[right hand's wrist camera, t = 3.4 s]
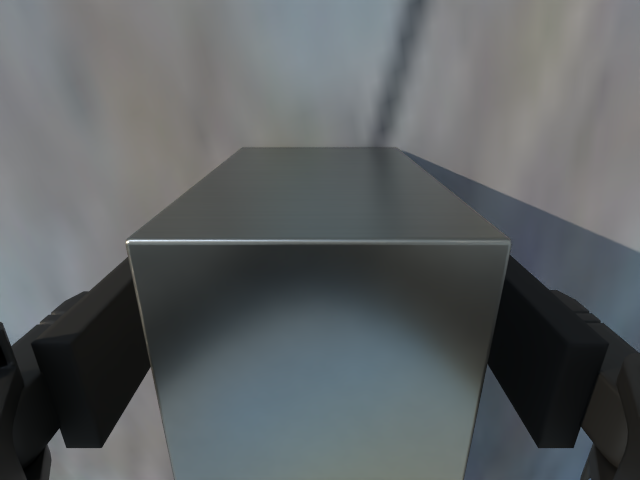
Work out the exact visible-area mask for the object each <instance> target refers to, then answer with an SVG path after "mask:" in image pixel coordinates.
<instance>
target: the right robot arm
mask: <svg viewBox="0 0 640 480" xmlns="http://www.w3.org/2000/svg"><path fill="white" fill-rule="evenodd" d="M487 364H488V365H489V367H490V369H491V370H492V372H493V374H494V375H495V377H496V379H497V380H498V382H499V384H500V385H501V387H502V389H503V390H504V392H505V393H506V395H507V397H508V398H509V400H510V402H511V403H512V405H513V407H514V408H515V410H516V412H517V413H518V415H519V417H520V418H521V420H522V422H523V423H524V425H525V427H526V428H527V430H528V432H529V433H530V435H531V437H532V438H533V440H534V442H535V443H536V445H537V447H538V448H574V445H575V442H576V439H577V436H578V433H579V430H580V428H581V427H582V429H583V430H584V431H585V432H586V434H587V435H588V436H589V438H590V439H591V440H592V442H593V445H592V448H591V450H590V453H589V456H588V459H587V461H586V464H585V467H584V469H583V472H582V475H581V478H580V480H588V479H589V478H591V480H640V353H638V352H637V351H636V350H635V349H634V348H633V347H631V346H630V345H629V344H628V343H627V342H625V341H624V340H623V339H622V338H621V337H619V336H618V335H617V334H616V333H615V332H613V331H612V330H611V329H610V328H609V327H607V326H606V325H605V324H604V323H601V322H600V320H599V319H598V318H597V317H595V316H594V315H593V314H592V313H589V311H588V310H587V309H586V308H585V307H584V306H582V305H581V304H580V303H579V302H578V301H576V300H575V299H573V298H571V297H569V296H567V295H565V294H563V293H561V292H559V291H557V290H549V289H548V288H546V287H545V286H544V285H543V284H542V283H541V282H540V281H539V280H537V279H536V278H535V277H534V276H533V275H532V274H531V273H530V272H528V271H527V270H526V269H525V268H524V267H523V266H522V265H521V264H519V263H518V262H517V261H516V260H515V259H514V258H513V257H512V256H510V255H509V260H508V265H507V270H506V275H505V279H504V284H503V289H502V294H501V299H500V304H499V309H498V314H497V319H496V324H495V328H494V333H493V338H492V343H491V348H490V353H489V358H488V363H487ZM150 367H151V365H150V360H149V355H148V350H147V345H146V341H145V336H144V331H143V326H142V321H141V316H140V312H139V307H138V302H137V297H136V292H135V287H134V283H133V278H132V273H131V268H130V263H129V259H128V257H127V258H126V259H125V260H124V261H123V262H122V263H121V264H119V265H118V266H117V267H116V268H115V269H114V270H113V271H112V272H110V273H109V274H108V275H107V276H106V277H105V278H104V279H103V280H101V281H100V282H99V283H98V284H97V285H96V286H95V287H94V288H92V289H91V290H90V291H89V292H82V293H80V294H78V295H76V296H74V297H72V298H70V299H68V300H66V301H64V302H63V303H62V304H61V305H60V306H59V307H57V308H56V309H55V310H54V311H53V312H51V315H48V316H47V317H45V318H44V319H43V320H42V321H41V322H40V325H36V326H35V327H34V328H32V329H31V330H30V331H29V332H28V333H27V334H25V335H24V336H23V337H22V338H21V339H19V340H18V341H17V342H16V343H15V344H13V345H12V346H11V345H10V342H9V339H8V336H7V334H6V331H5V328H4V326H3V323H1V322H0V480H49V475H50V467H51V454H50V450H49V448H48V445H47V444H48V442H49V441H50V440H51V439H52V437H53V436H54V435H55V433H56V432H57V431H58V429H59V428H60V430H61V433H62V436H63V439H64V442H65V445H66V448H102V447H103V445H104V443H105V442H106V440H107V438H108V437H109V435H110V433H111V432H112V430H113V428H114V427H115V425H116V423H117V422H118V420H119V418H120V417H121V415H122V413H123V412H124V410H125V408H126V407H127V405H128V403H129V402H130V400H131V398H132V397H133V395H134V393H135V392H136V390H137V389H138V387H139V385H140V384H141V382H142V380H143V379H144V377H145V375H146V374H147V372H148V370H149V369H150Z"/></svg>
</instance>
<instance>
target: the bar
mask: <svg viewBox="0 0 640 480" xmlns="http://www.w3.org/2000/svg"><path fill="white" fill-rule="evenodd" d="M511 245H512V244H511V239H510V238H509V237H507V236H506V235H505V234H504V233H502V232H501V231H500V230H499V229H497V228H496V227H495V226H494V225H492V224H491V223H490V222H489V221H487V220H486V219H485V218H484V217H483V216H481V215H480V214H479V213H478V212H476V211H475V210H474V209H473V208H471V207H470V206H469V205H468V204H466V203H465V202H464V201H463V200H461V199H460V198H459V197H458V196H456V195H455V194H454V193H453V192H451V191H450V190H449V189H448V188H446V187H445V186H444V185H443V184H442V183H440V182H439V181H438V180H437V179H435V178H434V177H433V176H432V175H430V174H429V173H428V172H427V171H425V170H424V169H423V168H422V167H420V166H419V165H418V164H417V163H415V162H414V161H413V160H412V159H410V158H409V157H408V156H407V155H405V154H404V153H403V152H402V151H401V150H399V149H398V148H241V149H240V150H238V151H237V152H236V153H235V154H233V155H232V156H231V157H230V158H228V159H227V160H226V161H225V162H223V163H222V164H221V165H219V166H218V167H217V168H216V169H214V170H213V171H212V172H211V173H209V174H208V175H207V176H206V177H204V178H203V179H202V180H201V181H199V182H198V183H197V184H196V185H194V186H193V187H192V188H190V189H189V190H188V191H187V192H185V193H184V194H183V195H182V196H180V197H179V198H178V199H177V200H175V201H174V202H173V203H172V204H170V205H169V206H168V207H166V208H165V209H164V210H163V211H161V212H160V213H159V214H158V215H156V216H155V217H154V218H153V219H151V220H150V221H149V222H148V223H146V224H145V225H144V226H143V227H141V228H140V229H139V230H137V231H136V232H135V233H134V234H132V235H131V236H130V237H129V238H127V240H126V249H127V254H128V259H129V263H130V268H131V273H132V278H133V283H134V287H135V292H136V297H137V302H138V307H139V312H140V316H141V321H142V326H143V331H144V336H145V341H146V345H147V350H148V355H149V360H150V365H151V370H152V374H153V379H154V384H155V389H156V394H157V399H158V403H159V408H160V413H161V418H162V423H163V428H164V432H165V437H166V442H167V447H168V452H169V457H170V461H171V466H172V471H173V476H174V480H464V476H465V471H466V466H467V461H468V456H469V451H470V446H471V441H472V436H473V431H474V427H475V422H476V417H477V412H478V407H479V402H480V397H481V392H482V387H483V382H484V378H485V373H486V368H487V363H488V358H489V353H490V348H491V343H492V338H493V333H494V328H495V324H496V319H497V314H498V309H499V304H500V299H501V294H502V289H503V284H504V279H505V275H506V270H507V265H508V260H509V255H510V250H511Z"/></svg>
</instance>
